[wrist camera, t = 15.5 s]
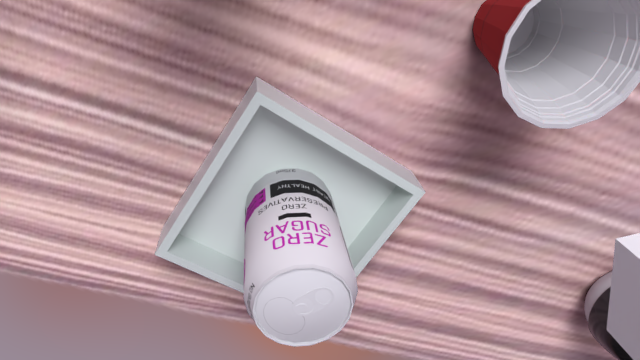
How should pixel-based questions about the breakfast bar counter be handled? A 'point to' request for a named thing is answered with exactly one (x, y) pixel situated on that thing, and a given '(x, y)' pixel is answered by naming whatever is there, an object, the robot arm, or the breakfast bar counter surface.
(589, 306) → the pump dispenser
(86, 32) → the breakfast bar counter surface
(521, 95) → the plastic cup
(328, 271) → the supplement can
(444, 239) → the breakfast bar counter surface
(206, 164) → the sage bin
